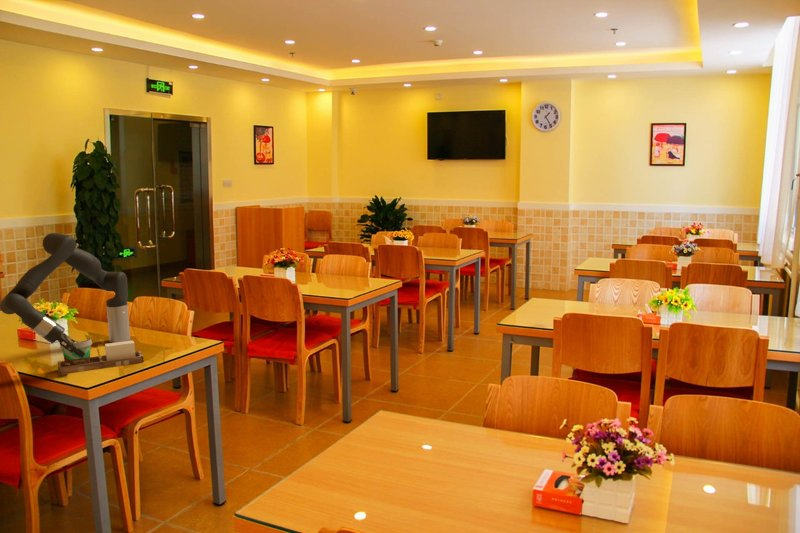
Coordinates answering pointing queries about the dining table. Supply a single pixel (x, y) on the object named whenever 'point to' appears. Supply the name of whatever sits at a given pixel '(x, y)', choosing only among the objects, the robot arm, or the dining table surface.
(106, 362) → the rack
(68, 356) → the food container
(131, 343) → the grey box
